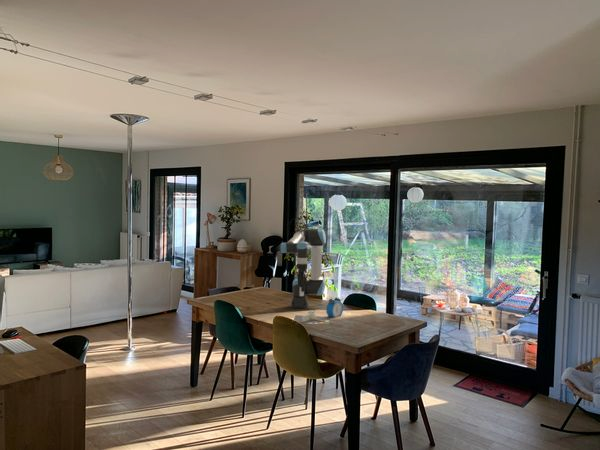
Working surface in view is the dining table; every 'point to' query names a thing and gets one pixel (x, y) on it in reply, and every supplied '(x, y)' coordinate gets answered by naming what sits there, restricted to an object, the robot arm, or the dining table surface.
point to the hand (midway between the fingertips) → (301, 295)
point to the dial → (310, 317)
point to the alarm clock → (334, 307)
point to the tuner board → (327, 319)
